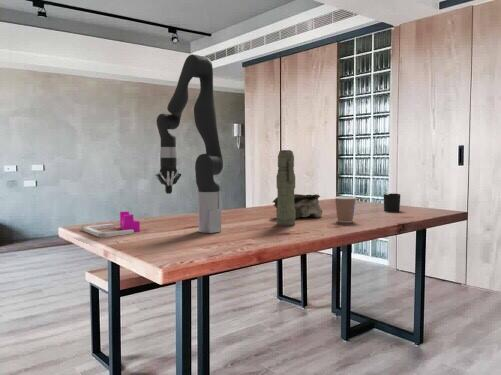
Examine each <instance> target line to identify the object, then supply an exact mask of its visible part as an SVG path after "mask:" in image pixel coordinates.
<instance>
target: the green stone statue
mask: <svg viewBox="0 0 501 375" xmlns="http://www.w3.org/2000/svg"><path fill="white" fill-rule="evenodd" d="M277 154H278V155H277V168H278V169H277V174H276V189H277V197H278V208H277V210H276V211H275V212H276V218H275V219H276V225H277V226H282V227H291V226H295V225H296V217H295V208H294V194H295V190H296V189H295V188H296V174H295V168H294V167H295V155H294V152H293V150H291V149H283V150H279V151H278V153H277Z"/></svg>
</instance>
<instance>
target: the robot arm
mask: <svg viewBox="0 0 501 375" xmlns="http://www.w3.org/2000/svg"><path fill="white" fill-rule="evenodd" d="M213 67H214V66H213V62H212V60H211V59H210V58H209V57H208V56H203V55H198V54H190V55H188V56H187V57H186V59H185V60H184V63H183V65H182V69H181V72H180V74H179V78H178V81H177V85H176V88H175V90H174V92H173V94H172V97H171V98H170V100H169V102H168V105H167V112H168V113H160V114H158V116H157V118H156V126H157V129H158V130H157V131H158V134H159V138H160V151H159V153H160V154H159V157H160V158H159V159H160V161H159V162H160V163H159V166H160V170H159V172H158V173H156V174H155V177H156V179H157V180H158V181H159V182H160V184H161V185H163V186H165V188H164V191H165V193H166V194H167V195H171V194H172V192H173V185H176V184H177V182H179V180H180V178H181V177H182V173H179V172H178V169H177V165H178V164H177V163H178V160H177V146H176V144H177V142H176V140H177V139H176V136H175V135H174V134H172V133H170V132H169V130H176V129H177V128H179V126H180V123H181V119H182V114H183V112H184V109H185V107H186V106H187V104H188V101H189V85H190V84H189V83H190V82H191V80H192V79H193V78H196V79H197V78H198V79H199V84H200V90H199V94H198V97H197V99H196V101H195V103H194V106H193V118H194V124H195V127H196V129H197V132H198V133H199V135H200V137H201V139H202V140H203V143H204V147H205V153H202V154H199V155H198V156H197V157H196V160H195V166H194V170H195V172H194V173H195V183H196V187H197V189H198V190H197V193H198V194H197V196H198V198H197V200H198V201H197V203H198V206H197V207H198V208H197V209H198V213H197V214H198V215H197V216H198V233H199V232H200V233H204V234H206V233H207V234H214V233H220V232H222V210H221V190H220V189H221V187H220V184H218V183H217V182H216V181H215V179H214V176H217V175H219V174H221V172H222V171H223V168H224V160H223V154H222V150H221V146H220V140H219V133H218V126H217V125H218V123H217V113H216V105H215V97H214V96H215V95H214V68H213Z"/></svg>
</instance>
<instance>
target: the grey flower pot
mask: <svg viewBox="0 0 501 375" xmlns="http://www.w3.org/2000/svg"><path fill="white" fill-rule="evenodd" d="M334 198H335V200H334V201H335V207H336V219H337V221H338V222H339V223H352V222H353V220H354V213H355V206H356V199H357V197H356V196H347V195H346V196H345V195H342V196H341V195H340V196H334Z"/></svg>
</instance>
